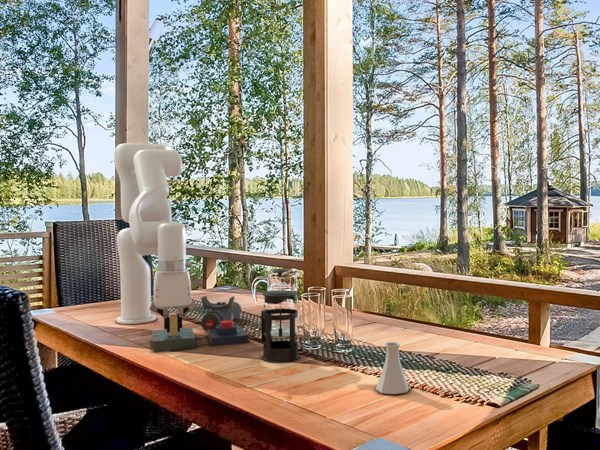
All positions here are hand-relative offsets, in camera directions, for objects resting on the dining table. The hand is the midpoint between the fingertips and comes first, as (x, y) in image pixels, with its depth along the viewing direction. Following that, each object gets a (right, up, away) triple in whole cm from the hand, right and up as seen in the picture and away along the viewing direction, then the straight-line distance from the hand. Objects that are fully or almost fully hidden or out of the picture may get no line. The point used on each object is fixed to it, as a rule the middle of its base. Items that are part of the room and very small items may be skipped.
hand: (173, 330), depth 161 cm
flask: (+60, -6, -38) cm, 72 cm away
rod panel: (0, -4, 0) cm, 4 cm away
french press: (+32, -5, -13) cm, 35 cm away
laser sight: (+8, -3, +24) cm, 25 cm away
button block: (+14, -4, +6) cm, 16 cm away
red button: (+14, 0, +6) cm, 15 cm away
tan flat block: (0, -1, 0) cm, 1 cm away
